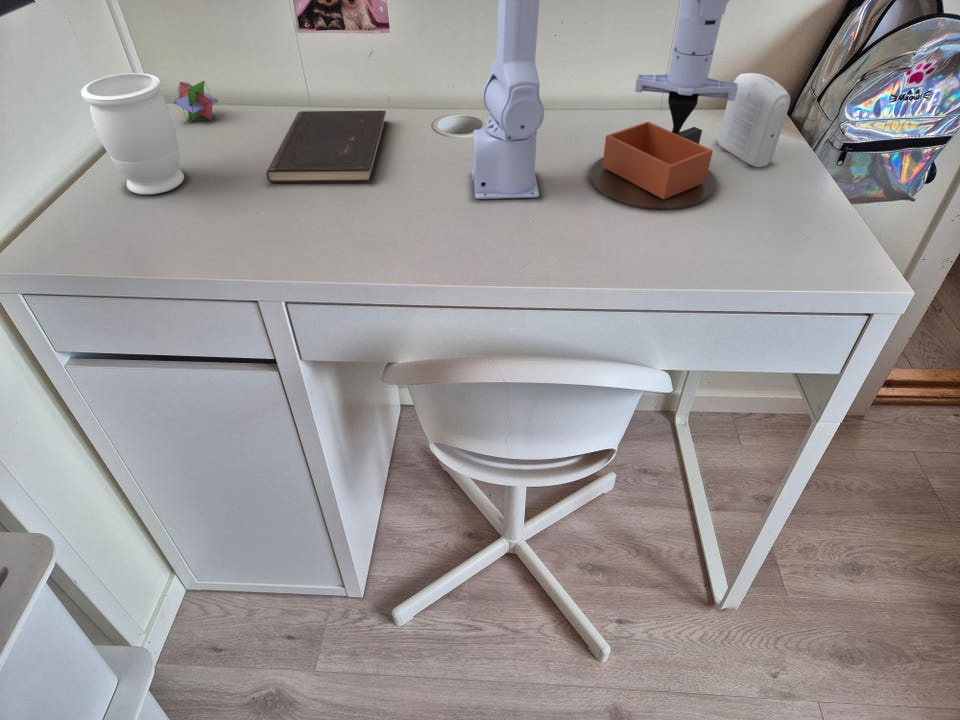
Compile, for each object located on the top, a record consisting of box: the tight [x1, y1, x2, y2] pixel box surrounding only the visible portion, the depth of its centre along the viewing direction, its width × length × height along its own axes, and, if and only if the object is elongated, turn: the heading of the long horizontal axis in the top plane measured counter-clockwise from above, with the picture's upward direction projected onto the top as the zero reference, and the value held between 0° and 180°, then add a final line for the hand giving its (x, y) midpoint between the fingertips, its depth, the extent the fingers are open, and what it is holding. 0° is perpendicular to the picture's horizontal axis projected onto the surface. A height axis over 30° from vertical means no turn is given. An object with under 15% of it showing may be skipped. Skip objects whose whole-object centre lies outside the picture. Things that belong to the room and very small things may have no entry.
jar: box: [80, 72, 185, 196], centre depth 97 cm, size 11×10×15 cm
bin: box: [602, 121, 714, 199], centre depth 100 cm, size 13×13×5 cm
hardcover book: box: [265, 110, 388, 185], centre depth 109 cm, size 16×23×2 cm
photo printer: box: [717, 72, 791, 168], centre depth 103 cm, size 10×4×12 cm, turn 23°
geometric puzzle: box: [172, 80, 219, 123], centre depth 118 cm, size 7×7×8 cm
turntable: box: [589, 157, 717, 212], centre depth 101 cm, size 19×19×1 cm
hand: (674, 141), depth 103 cm, fingers closed, pressing on bin
